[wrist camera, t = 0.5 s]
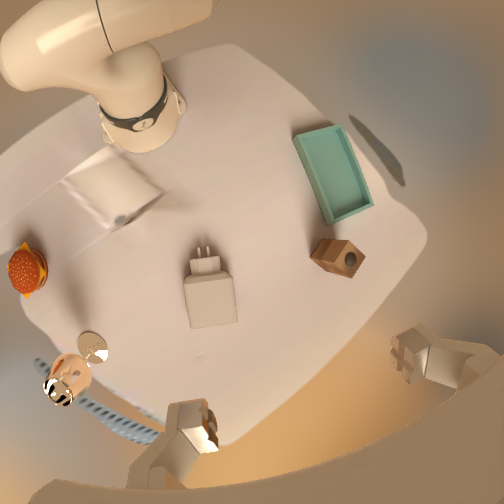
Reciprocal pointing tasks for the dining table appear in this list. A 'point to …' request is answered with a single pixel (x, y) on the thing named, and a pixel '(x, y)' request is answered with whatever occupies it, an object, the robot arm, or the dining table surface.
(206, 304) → the charger
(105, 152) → the dining table surface
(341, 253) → the block
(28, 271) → the hamburger
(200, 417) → the robot arm
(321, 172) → the tray
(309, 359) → the dining table surface
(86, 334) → the wineglass
